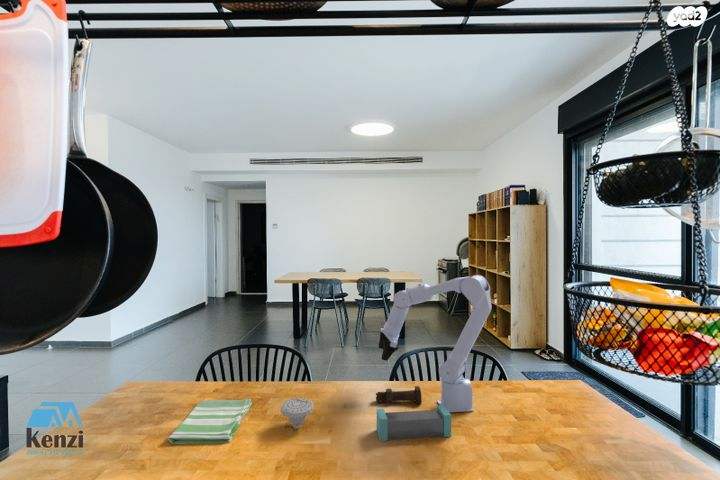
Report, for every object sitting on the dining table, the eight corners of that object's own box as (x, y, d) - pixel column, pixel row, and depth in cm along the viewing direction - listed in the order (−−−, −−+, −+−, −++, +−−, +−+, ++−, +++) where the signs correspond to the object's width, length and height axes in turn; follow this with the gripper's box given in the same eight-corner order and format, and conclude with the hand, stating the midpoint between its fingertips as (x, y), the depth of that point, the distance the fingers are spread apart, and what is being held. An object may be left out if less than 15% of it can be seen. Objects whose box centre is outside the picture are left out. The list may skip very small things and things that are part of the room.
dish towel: (253, 404, 119) (253, 396, 119) (231, 445, 96) (231, 435, 96) (198, 406, 118) (198, 398, 118) (163, 447, 95) (163, 437, 95)
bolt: (376, 407, 121) (420, 405, 121) (376, 405, 117) (422, 404, 117) (375, 388, 124) (418, 387, 124) (375, 386, 119) (420, 385, 119)
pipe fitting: (443, 425, 105) (443, 405, 105) (451, 436, 99) (451, 415, 99) (376, 429, 103) (376, 408, 103) (380, 441, 97) (380, 419, 97)
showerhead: (272, 406, 102) (293, 392, 111) (272, 431, 102) (293, 416, 111) (300, 413, 98) (319, 398, 107) (300, 439, 98) (319, 422, 107)
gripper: (382, 309, 134) (370, 340, 137) (388, 328, 120) (375, 362, 123) (399, 314, 135) (387, 345, 138) (407, 333, 121) (393, 367, 124)
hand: (382, 353), depth 131 cm, fingers open, 7 cm apart
